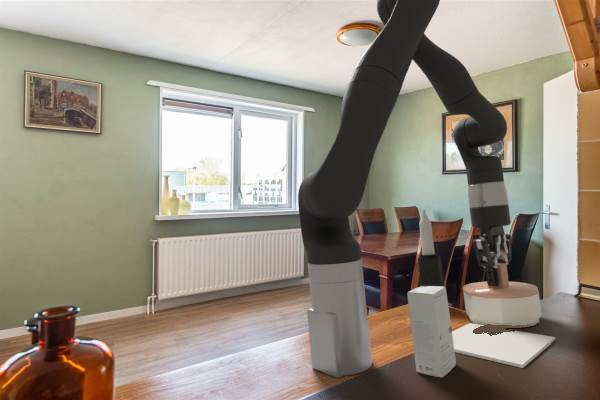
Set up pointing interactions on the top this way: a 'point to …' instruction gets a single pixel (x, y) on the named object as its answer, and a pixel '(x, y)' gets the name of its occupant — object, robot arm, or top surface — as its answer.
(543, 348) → the mat
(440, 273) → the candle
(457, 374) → the top surface
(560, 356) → the top surface
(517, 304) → the bowl
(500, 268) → the lid
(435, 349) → the skincare box
